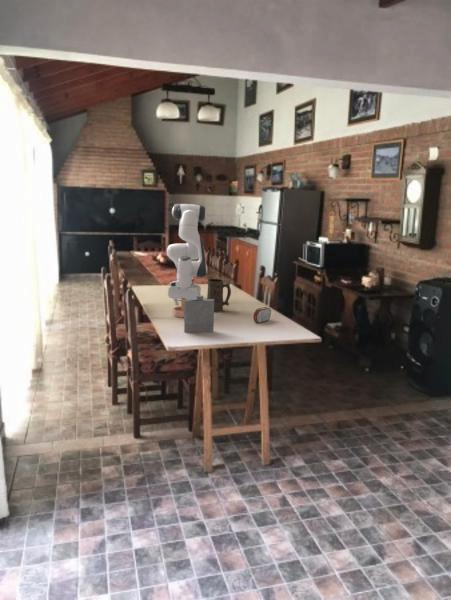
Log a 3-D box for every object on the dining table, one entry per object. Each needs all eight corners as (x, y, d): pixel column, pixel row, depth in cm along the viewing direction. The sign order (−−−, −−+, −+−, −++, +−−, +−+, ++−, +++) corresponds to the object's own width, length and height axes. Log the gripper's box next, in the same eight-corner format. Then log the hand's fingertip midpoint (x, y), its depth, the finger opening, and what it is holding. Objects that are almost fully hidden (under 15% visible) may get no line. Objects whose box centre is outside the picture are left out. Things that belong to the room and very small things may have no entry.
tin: (267, 319, 301) (267, 305, 300) (271, 320, 300) (272, 306, 298) (252, 323, 290) (253, 309, 288) (256, 324, 288) (257, 310, 286)
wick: (183, 312, 306) (183, 296, 304) (186, 312, 305) (186, 297, 303) (181, 314, 302) (181, 297, 300) (184, 314, 302) (184, 298, 299)
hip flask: (212, 330, 272) (213, 294, 268) (214, 332, 268) (215, 296, 264) (183, 331, 268) (184, 294, 264) (184, 333, 265) (185, 296, 260)
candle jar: (177, 311, 312) (178, 305, 311) (197, 313, 308) (198, 307, 308) (169, 316, 299) (169, 309, 299) (190, 318, 296) (190, 312, 295)
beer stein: (207, 312, 313) (210, 280, 309) (203, 308, 323) (206, 278, 320) (230, 313, 318) (233, 282, 314) (226, 309, 328) (229, 279, 324)
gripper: (202, 284, 300) (201, 306, 303) (171, 281, 306) (170, 303, 309) (199, 285, 294) (198, 308, 297) (166, 283, 300) (166, 305, 303)
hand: (184, 305), depth 303 cm, fingers open, 8 cm apart
